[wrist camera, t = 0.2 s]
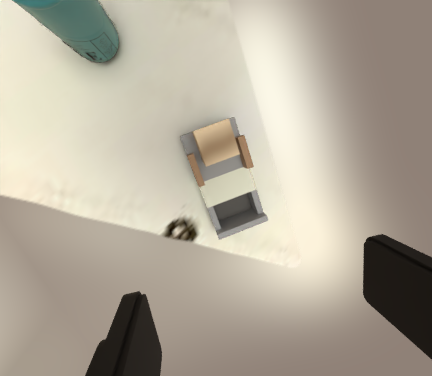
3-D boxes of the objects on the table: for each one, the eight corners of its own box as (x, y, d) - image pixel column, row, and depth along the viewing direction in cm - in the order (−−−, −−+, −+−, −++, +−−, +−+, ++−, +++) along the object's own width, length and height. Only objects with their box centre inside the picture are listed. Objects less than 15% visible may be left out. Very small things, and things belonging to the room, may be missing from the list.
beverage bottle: (117, 16, 31) (8, -186, 12) (128, 66, 32) (46, -37, 13) (70, 19, 30) (-131, -191, 11) (83, 70, 32) (-72, -33, 12)
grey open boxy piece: (180, 136, 36) (179, 136, 30) (229, 118, 36) (238, 115, 31) (215, 227, 41) (220, 242, 35) (258, 210, 41) (270, 222, 35)
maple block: (191, 132, 33) (193, 131, 28) (222, 121, 33) (228, 118, 28) (203, 162, 34) (206, 166, 29) (232, 151, 34) (240, 154, 29)
